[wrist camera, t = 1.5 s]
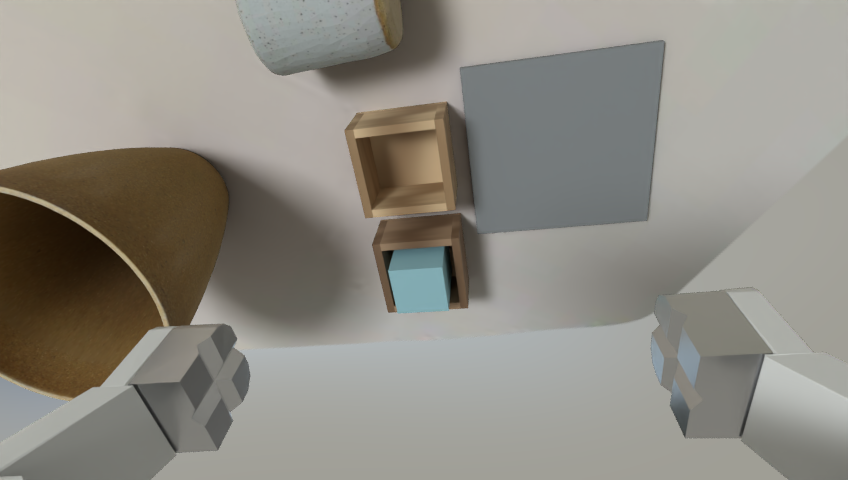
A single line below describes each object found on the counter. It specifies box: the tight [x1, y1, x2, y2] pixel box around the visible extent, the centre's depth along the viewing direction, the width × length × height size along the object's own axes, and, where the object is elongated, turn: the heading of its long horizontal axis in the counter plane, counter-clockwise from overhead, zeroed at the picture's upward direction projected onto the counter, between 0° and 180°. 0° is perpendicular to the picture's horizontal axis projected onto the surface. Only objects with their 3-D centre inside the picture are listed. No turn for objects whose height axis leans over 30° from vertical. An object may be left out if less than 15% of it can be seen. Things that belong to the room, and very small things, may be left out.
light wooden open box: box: [345, 102, 457, 218], centre depth 35 cm, size 7×7×4 cm
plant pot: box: [0, 148, 229, 401], centre depth 33 cm, size 15×15×16 cm
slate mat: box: [460, 40, 665, 234], centre depth 35 cm, size 13×13×1 cm
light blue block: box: [388, 246, 452, 313], centre depth 38 cm, size 4×4×6 cm
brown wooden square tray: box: [372, 213, 469, 313], centre depth 39 cm, size 7×7×4 cm
